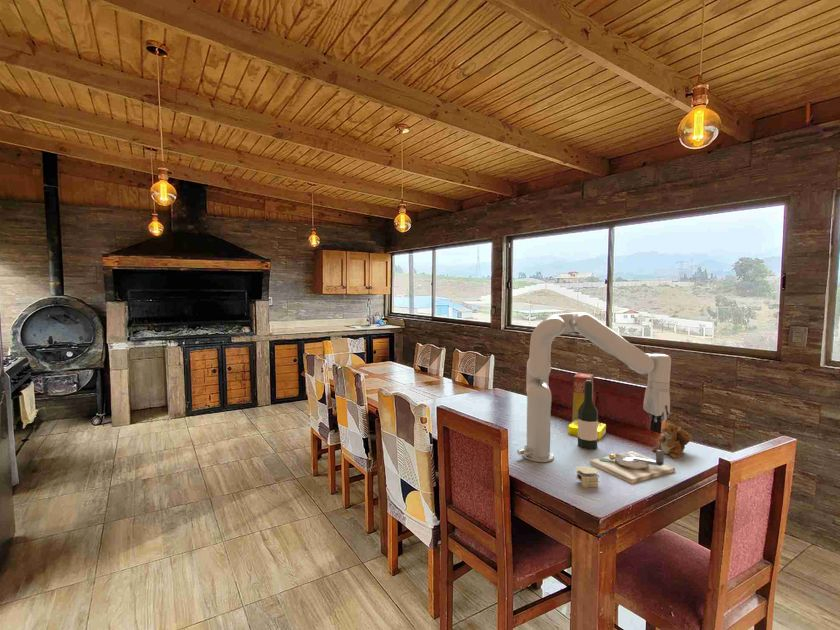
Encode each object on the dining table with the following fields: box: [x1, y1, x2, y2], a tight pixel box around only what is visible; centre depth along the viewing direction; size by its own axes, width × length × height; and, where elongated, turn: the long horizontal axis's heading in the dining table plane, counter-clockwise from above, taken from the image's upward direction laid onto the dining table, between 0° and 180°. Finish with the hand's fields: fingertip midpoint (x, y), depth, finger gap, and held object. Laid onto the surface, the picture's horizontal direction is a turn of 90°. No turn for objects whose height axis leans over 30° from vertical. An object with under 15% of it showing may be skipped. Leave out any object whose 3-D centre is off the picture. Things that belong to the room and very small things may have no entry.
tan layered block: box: [575, 466, 600, 488], centre depth 147 cm, size 10×9×6 cm
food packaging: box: [571, 372, 595, 423], centre depth 221 cm, size 13×9×25 cm
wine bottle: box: [577, 380, 599, 451], centre depth 183 cm, size 8×8×30 cm
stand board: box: [589, 450, 676, 484], centre depth 161 cm, size 24×19×2 cm
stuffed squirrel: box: [651, 421, 693, 459], centre depth 176 cm, size 10×14×13 cm
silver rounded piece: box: [608, 450, 665, 470], centre depth 160 cm, size 19×12×7 cm, turn 61°
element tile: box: [567, 419, 607, 441], centre depth 202 cm, size 15×15×5 cm
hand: (655, 431), depth 162 cm, fingers closed
